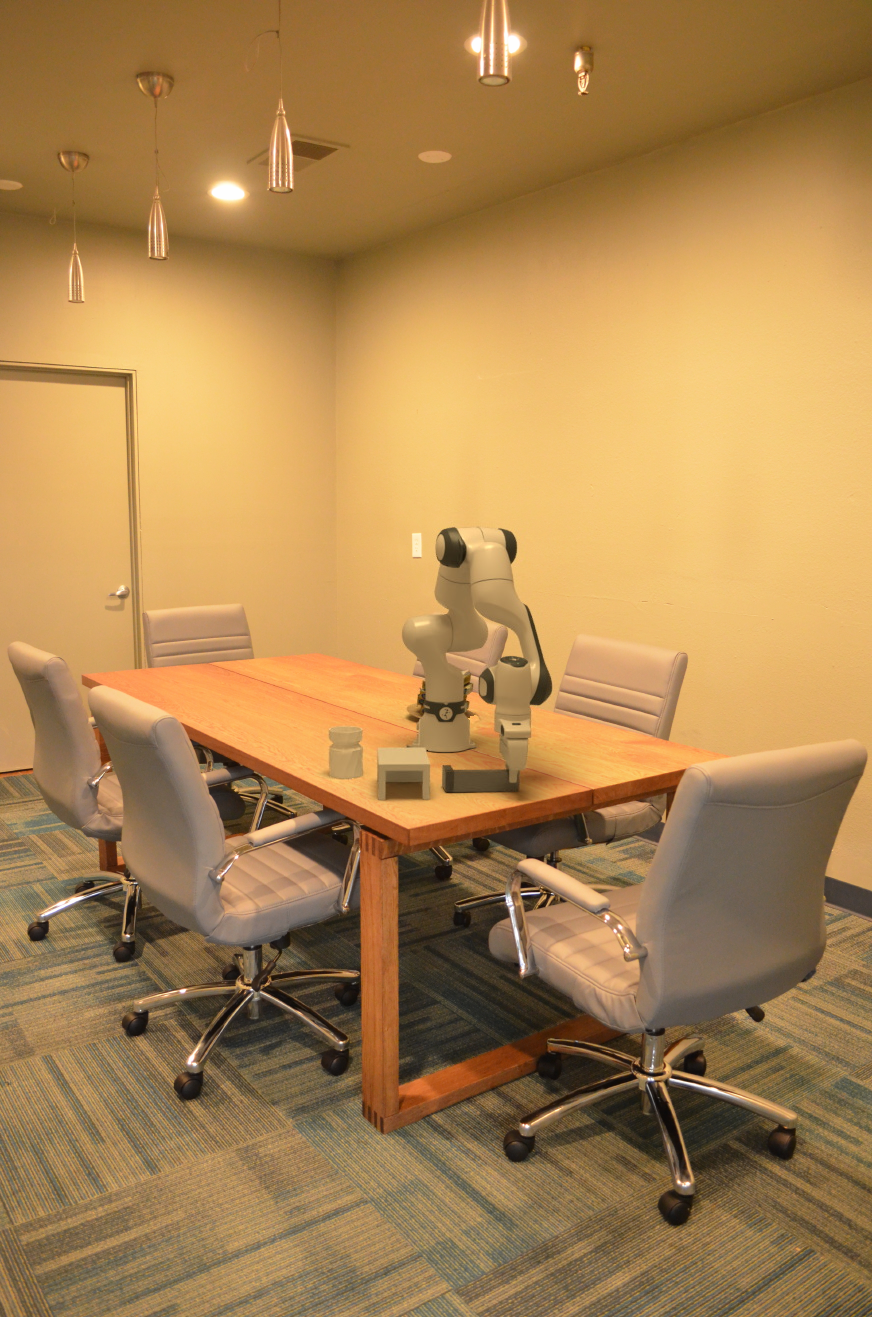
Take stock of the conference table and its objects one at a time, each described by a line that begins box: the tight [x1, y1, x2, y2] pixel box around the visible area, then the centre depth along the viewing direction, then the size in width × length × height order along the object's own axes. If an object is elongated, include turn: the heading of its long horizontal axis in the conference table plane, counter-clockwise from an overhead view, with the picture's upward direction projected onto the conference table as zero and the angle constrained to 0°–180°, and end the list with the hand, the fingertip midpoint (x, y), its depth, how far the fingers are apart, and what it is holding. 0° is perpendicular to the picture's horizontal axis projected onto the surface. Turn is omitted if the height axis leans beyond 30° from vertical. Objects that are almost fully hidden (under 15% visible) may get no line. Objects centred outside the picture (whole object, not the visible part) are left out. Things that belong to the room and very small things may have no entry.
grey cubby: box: [376, 747, 431, 801], centre depth 240 cm, size 18×12×8 cm, turn 4°
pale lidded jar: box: [328, 725, 364, 780], centre depth 254 cm, size 9×9×12 cm
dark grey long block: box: [441, 764, 521, 793], centre depth 242 cm, size 6×18×5 cm, turn 98°
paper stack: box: [406, 669, 478, 719], centre depth 332 cm, size 25×25×17 cm
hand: (511, 779), depth 241 cm, fingers open, 3 cm apart
